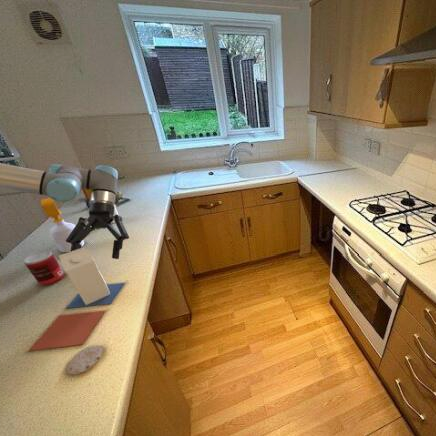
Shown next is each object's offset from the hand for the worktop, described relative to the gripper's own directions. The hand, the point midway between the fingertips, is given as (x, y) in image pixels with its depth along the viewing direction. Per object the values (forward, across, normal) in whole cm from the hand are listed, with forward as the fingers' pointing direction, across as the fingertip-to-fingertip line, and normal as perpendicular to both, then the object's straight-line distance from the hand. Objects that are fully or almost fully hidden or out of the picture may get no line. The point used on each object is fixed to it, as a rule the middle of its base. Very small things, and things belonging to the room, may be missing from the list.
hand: (95, 260), depth 86 cm
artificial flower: (-48, +39, -64) cm, 89 cm away
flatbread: (+30, -11, +14) cm, 35 cm away
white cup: (-30, +24, -46) cm, 60 cm away
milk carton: (+12, 0, -3) cm, 12 cm away
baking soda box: (-58, +57, -74) cm, 110 cm away
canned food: (+4, +23, -12) cm, 26 cm away
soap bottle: (-12, +30, -28) cm, 43 cm away
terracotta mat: (+22, 0, +7) cm, 23 cm away
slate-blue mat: (+12, 0, -3) cm, 13 cm away
